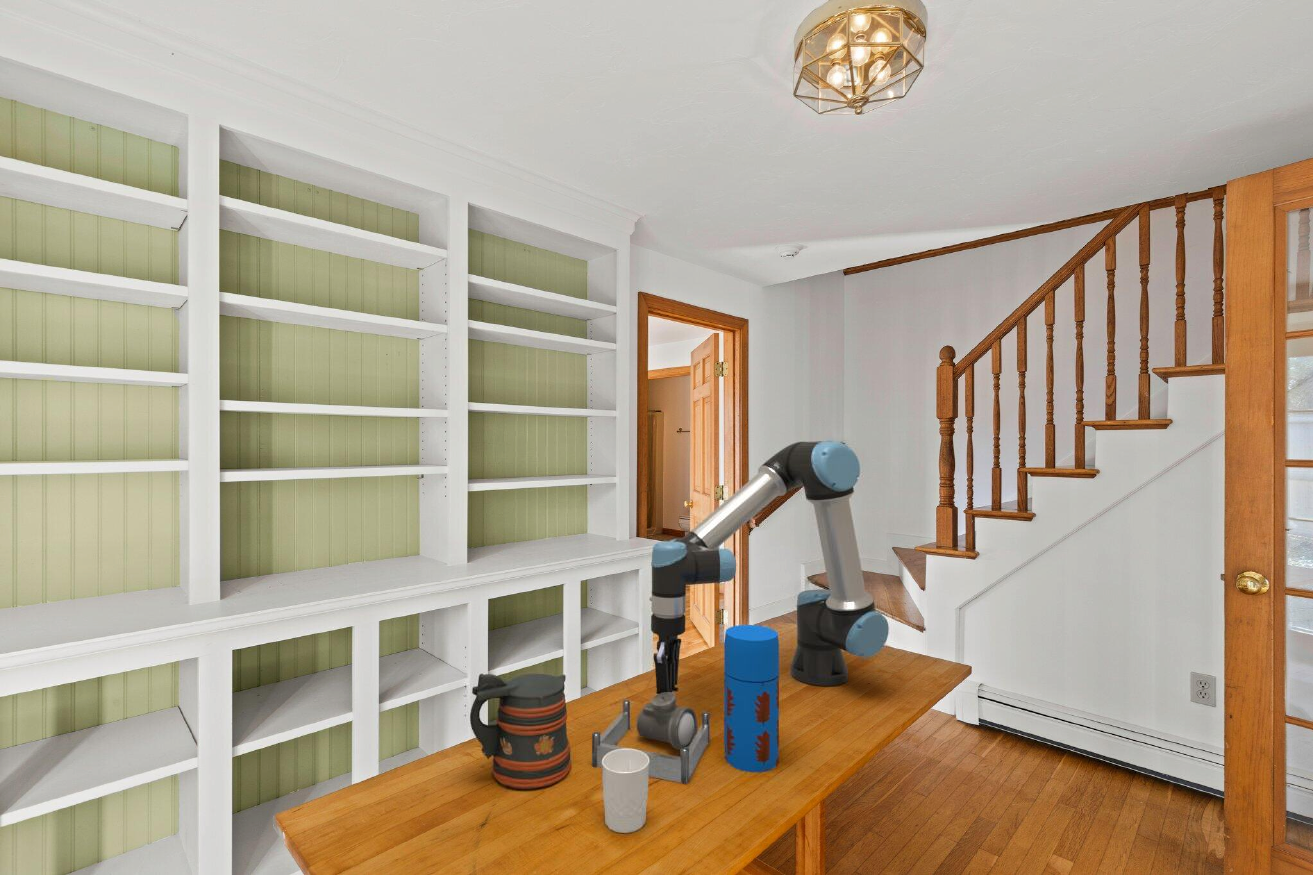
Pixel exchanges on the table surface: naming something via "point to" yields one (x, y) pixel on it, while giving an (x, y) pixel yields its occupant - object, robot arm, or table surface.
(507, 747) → the beer stein
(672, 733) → the pipe fitting
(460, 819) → the table surface
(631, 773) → the white cup
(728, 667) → the thermos
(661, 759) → the grey metal frame
